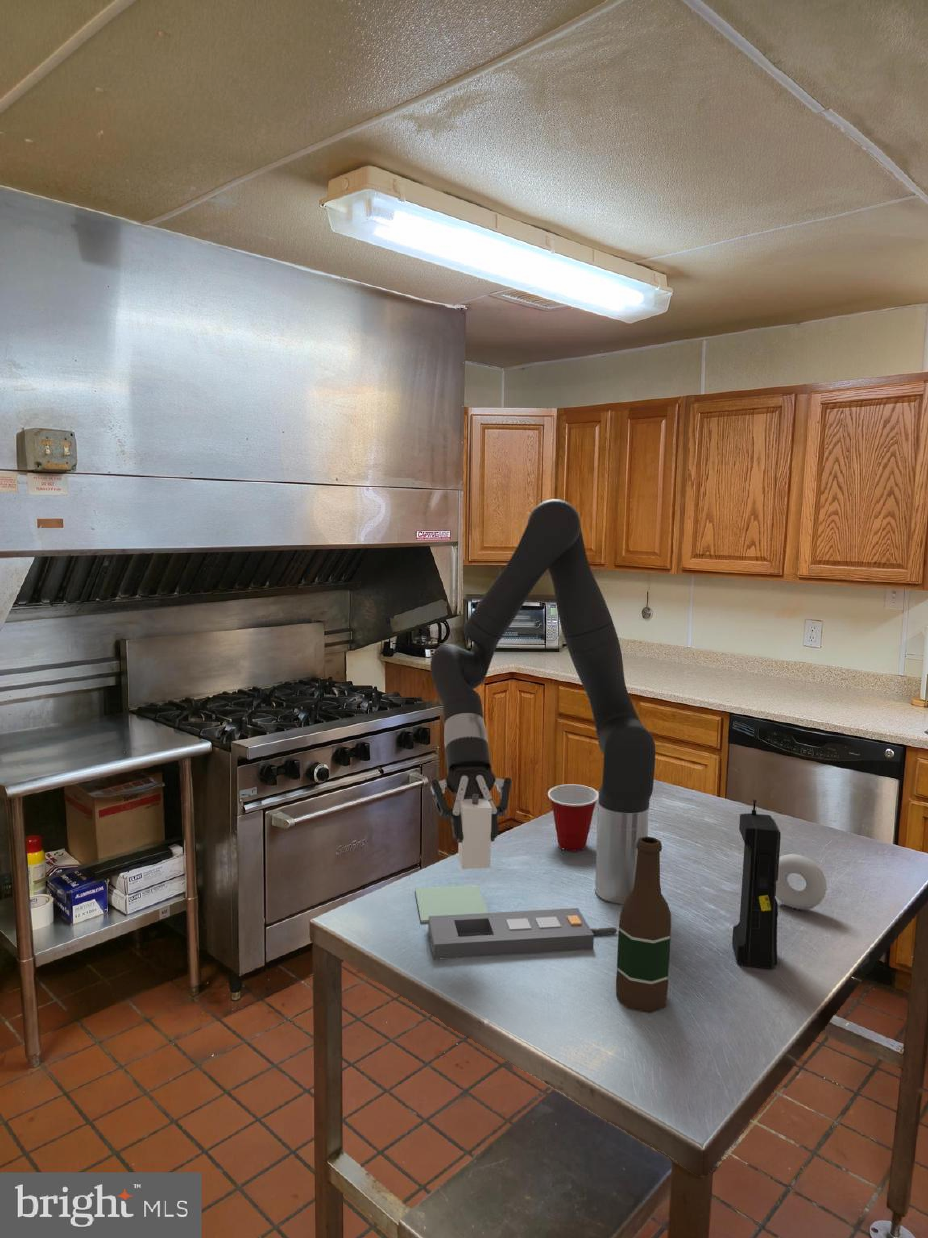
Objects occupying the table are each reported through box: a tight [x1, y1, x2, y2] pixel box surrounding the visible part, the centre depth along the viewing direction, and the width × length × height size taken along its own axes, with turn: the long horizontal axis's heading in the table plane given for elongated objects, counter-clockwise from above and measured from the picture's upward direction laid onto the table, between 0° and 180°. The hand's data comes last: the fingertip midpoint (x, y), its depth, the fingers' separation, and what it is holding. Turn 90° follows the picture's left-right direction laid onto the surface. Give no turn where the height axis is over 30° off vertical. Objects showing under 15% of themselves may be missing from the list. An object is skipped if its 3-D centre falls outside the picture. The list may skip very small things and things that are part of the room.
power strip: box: [427, 907, 618, 960], centre depth 131 cm, size 32×9×3 cm, turn 98°
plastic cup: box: [547, 783, 599, 852], centre depth 168 cm, size 11×11×12 cm
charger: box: [457, 793, 492, 870], centre depth 128 cm, size 5×4×12 cm
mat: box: [414, 885, 489, 924], centre depth 142 cm, size 12×12×1 cm
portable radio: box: [731, 799, 782, 970], centre depth 125 cm, size 8×6×25 cm
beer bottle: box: [615, 836, 672, 1013], centre depth 114 cm, size 8×8×24 cm
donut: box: [775, 853, 828, 911], centre depth 143 cm, size 10×4×10 cm, turn 54°
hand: (476, 839), depth 126 cm, fingers closed on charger, 4 cm apart
